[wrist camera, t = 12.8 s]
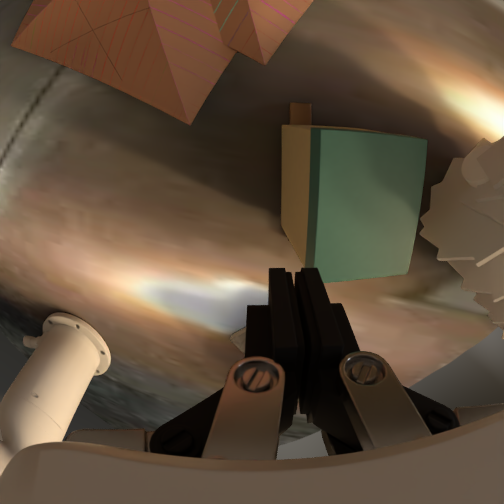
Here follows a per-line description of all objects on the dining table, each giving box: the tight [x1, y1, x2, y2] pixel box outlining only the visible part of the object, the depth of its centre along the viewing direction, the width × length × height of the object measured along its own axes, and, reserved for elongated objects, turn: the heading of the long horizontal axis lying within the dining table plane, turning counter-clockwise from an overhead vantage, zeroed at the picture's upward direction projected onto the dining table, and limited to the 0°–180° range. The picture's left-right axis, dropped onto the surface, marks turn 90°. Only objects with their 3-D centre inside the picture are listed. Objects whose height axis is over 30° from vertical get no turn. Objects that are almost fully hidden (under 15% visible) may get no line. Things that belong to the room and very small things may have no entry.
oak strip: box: [288, 103, 311, 241], centre depth 29 cm, size 2×14×1 cm, turn 1°
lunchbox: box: [281, 125, 428, 283], centre depth 24 cm, size 11×10×8 cm
